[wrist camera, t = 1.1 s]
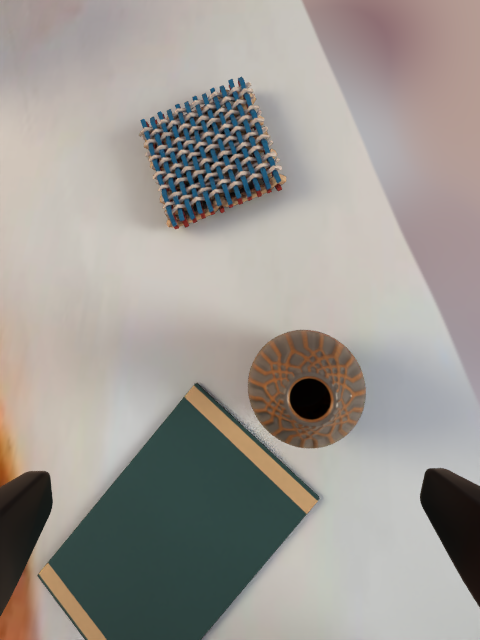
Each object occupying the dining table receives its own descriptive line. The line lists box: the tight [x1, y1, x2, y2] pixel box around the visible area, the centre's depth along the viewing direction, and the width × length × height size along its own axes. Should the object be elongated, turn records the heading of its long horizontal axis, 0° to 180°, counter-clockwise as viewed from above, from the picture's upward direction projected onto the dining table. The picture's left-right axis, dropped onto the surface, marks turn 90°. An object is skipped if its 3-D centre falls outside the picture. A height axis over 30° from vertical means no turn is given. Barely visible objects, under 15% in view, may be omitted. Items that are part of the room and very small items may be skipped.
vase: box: [248, 330, 366, 448], centre depth 17 cm, size 7×7×9 cm
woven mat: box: [139, 77, 286, 229], centre depth 23 cm, size 10×11×2 cm
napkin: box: [37, 383, 319, 640], centre depth 21 cm, size 12×20×1 cm, turn 140°
